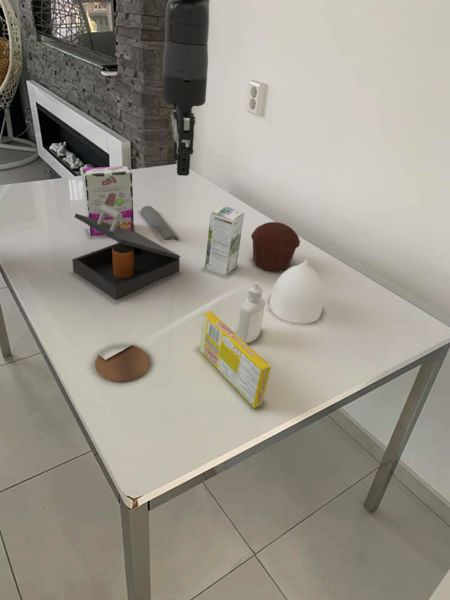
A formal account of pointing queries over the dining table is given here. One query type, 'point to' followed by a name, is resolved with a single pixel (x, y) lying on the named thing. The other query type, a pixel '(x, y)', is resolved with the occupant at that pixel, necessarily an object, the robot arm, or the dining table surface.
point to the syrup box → (224, 239)
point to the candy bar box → (109, 195)
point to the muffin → (274, 246)
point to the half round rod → (157, 223)
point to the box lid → (123, 232)
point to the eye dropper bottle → (251, 315)
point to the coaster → (123, 365)
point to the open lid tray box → (146, 272)
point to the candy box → (234, 359)
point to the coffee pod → (123, 260)
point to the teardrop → (298, 295)
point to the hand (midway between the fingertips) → (181, 167)
